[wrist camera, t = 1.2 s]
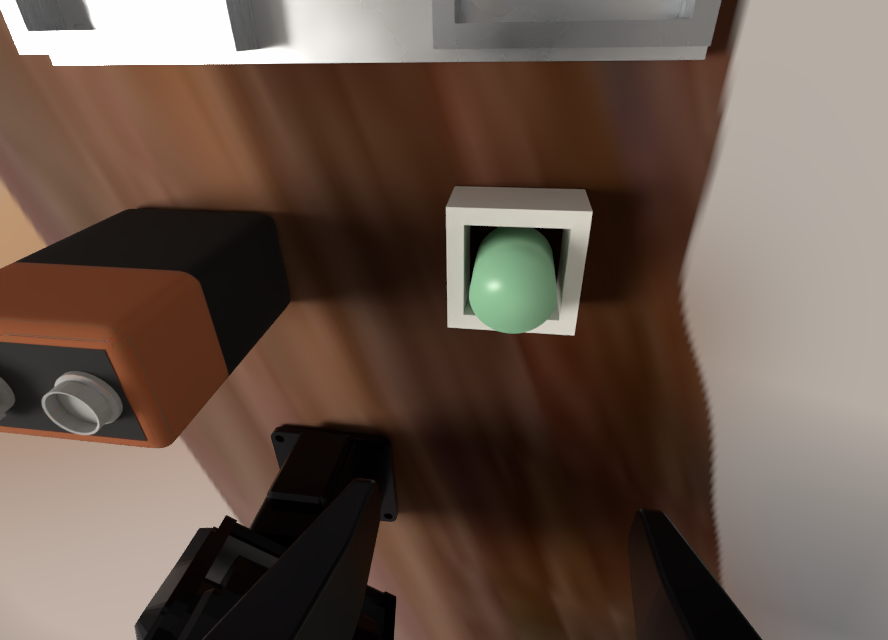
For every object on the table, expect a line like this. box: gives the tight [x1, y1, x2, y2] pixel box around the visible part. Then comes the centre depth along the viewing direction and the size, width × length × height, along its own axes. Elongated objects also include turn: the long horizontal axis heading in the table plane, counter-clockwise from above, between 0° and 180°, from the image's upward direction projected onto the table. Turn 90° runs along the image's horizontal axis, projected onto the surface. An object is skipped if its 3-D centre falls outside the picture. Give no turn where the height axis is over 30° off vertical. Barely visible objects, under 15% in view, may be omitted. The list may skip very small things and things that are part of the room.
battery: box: [0, 209, 290, 448], centre depth 17 cm, size 4×7×10 cm, turn 91°
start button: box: [469, 226, 557, 333], centre depth 17 cm, size 3×3×3 cm
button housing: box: [446, 186, 593, 335], centre depth 18 cm, size 5×5×2 cm
